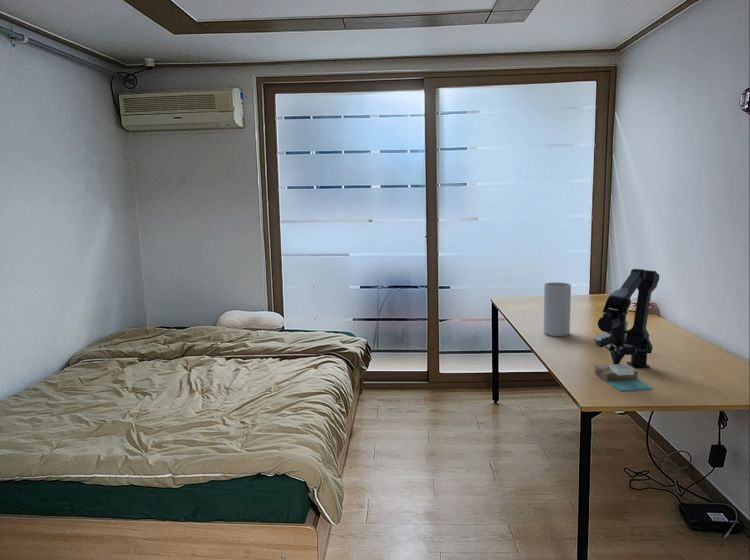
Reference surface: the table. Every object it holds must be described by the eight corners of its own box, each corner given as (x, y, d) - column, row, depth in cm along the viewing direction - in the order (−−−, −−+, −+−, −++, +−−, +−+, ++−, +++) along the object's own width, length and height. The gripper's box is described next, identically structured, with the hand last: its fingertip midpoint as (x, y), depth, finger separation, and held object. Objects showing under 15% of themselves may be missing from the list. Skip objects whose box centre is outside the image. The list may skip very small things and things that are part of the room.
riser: (594, 374, 233) (595, 365, 232) (623, 372, 234) (624, 363, 233) (607, 382, 223) (607, 373, 223) (637, 380, 224) (637, 371, 224)
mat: (607, 382, 223) (607, 381, 223) (637, 380, 224) (638, 379, 224) (620, 391, 213) (620, 390, 213) (652, 389, 214) (652, 388, 214)
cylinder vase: (572, 336, 288) (574, 286, 284) (547, 337, 289) (548, 287, 285) (565, 330, 301) (566, 282, 297) (540, 330, 301) (541, 282, 297)
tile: (609, 369, 227) (609, 364, 227) (624, 368, 227) (624, 363, 227) (618, 375, 220) (618, 370, 220) (633, 374, 221) (633, 369, 220)
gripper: (586, 322, 234) (585, 360, 236) (608, 334, 216) (607, 375, 218) (613, 321, 235) (611, 358, 237) (638, 332, 217) (636, 373, 219)
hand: (615, 366), depth 228 cm, fingers closed
